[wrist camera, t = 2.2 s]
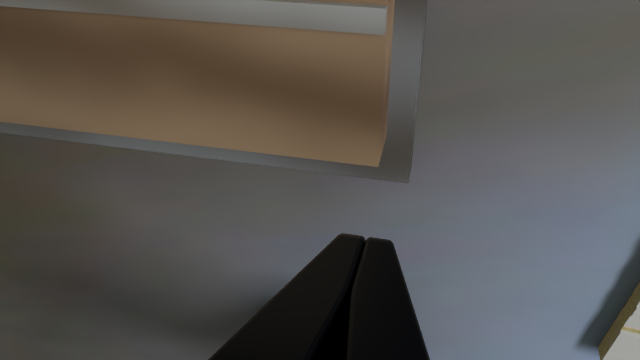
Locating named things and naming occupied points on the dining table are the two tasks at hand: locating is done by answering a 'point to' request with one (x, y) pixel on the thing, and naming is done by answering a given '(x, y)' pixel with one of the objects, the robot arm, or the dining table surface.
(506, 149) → the dining table surface
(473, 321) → the dining table surface
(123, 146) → the floor base
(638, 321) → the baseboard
